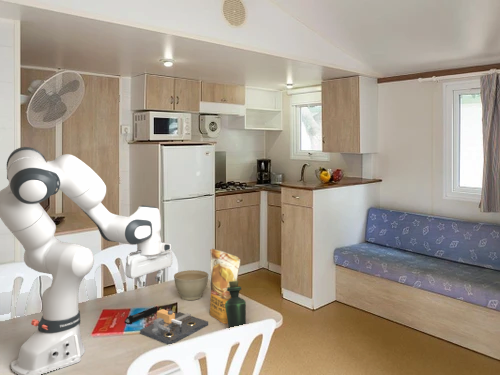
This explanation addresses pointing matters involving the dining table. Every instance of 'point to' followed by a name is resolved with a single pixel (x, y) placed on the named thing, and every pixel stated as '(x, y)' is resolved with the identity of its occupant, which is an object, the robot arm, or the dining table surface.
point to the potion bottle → (235, 306)
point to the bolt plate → (173, 328)
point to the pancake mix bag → (221, 281)
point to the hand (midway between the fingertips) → (149, 283)
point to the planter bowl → (191, 283)
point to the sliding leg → (168, 317)
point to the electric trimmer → (141, 315)
